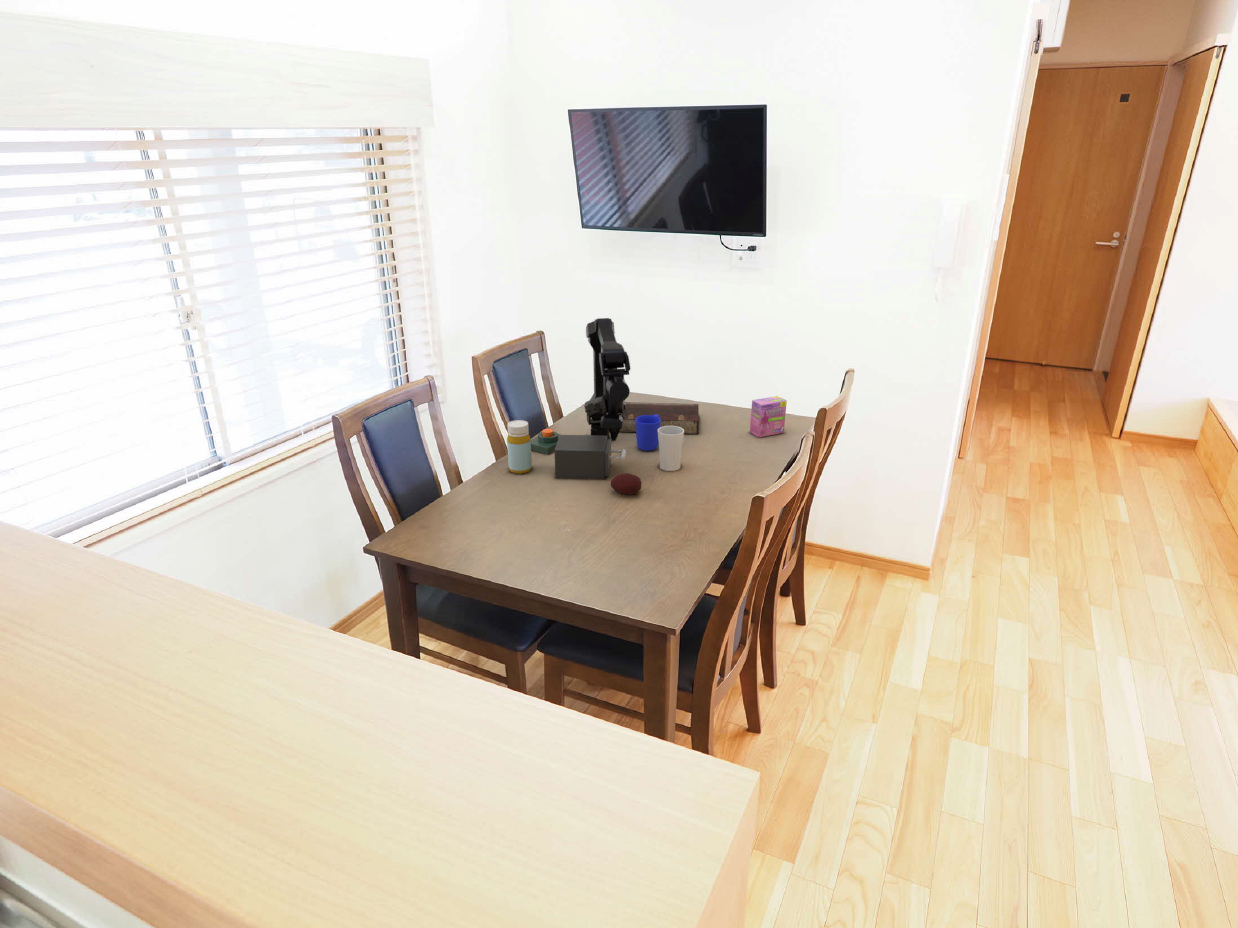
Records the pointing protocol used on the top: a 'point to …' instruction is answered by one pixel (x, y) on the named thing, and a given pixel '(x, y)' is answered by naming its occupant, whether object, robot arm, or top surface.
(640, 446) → the mug
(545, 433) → the button
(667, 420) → the book
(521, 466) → the bottle
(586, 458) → the dark grey lidded case
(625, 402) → the robot arm
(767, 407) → the box
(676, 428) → the cup
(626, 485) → the potato
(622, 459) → the drawer
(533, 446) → the control block
